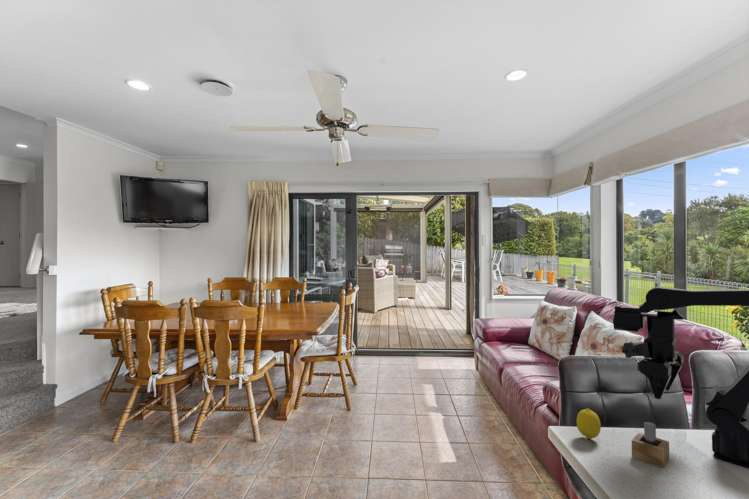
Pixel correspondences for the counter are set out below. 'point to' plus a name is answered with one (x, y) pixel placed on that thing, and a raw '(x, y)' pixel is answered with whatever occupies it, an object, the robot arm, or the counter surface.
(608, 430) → the counter surface
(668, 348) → the robot arm
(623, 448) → the counter surface
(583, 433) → the lemon
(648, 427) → the peg
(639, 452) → the block with square hole
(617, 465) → the counter surface
